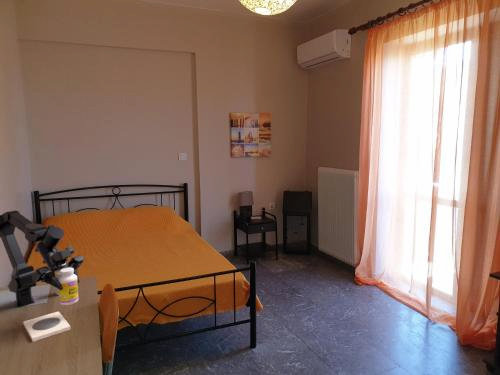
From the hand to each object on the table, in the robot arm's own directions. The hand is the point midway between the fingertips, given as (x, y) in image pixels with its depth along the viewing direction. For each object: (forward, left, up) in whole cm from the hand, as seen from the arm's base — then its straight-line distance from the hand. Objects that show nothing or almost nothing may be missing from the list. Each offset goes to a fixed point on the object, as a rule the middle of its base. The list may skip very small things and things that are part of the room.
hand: (70, 286), depth 138 cm
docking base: (0, -9, -13) cm, 16 cm away
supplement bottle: (-1, 0, -7) cm, 7 cm away
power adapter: (-29, +4, -13) cm, 32 cm away
